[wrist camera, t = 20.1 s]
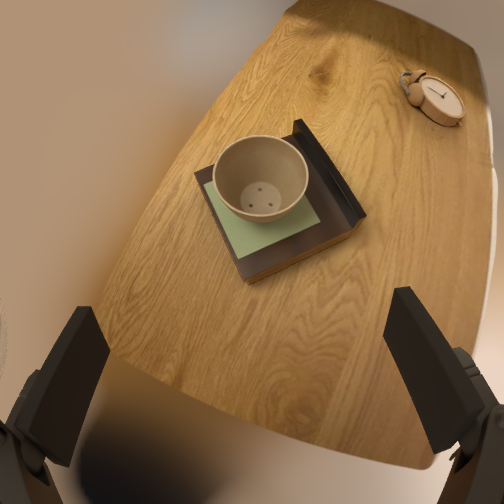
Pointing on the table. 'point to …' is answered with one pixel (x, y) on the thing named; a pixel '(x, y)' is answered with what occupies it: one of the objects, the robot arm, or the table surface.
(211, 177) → the tray
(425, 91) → the alarm clock
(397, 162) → the table surface
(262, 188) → the flower pot
